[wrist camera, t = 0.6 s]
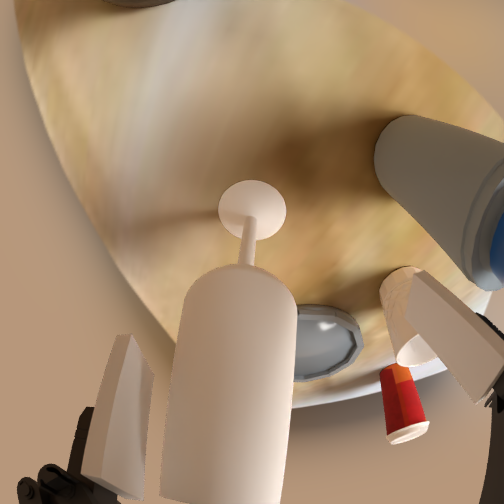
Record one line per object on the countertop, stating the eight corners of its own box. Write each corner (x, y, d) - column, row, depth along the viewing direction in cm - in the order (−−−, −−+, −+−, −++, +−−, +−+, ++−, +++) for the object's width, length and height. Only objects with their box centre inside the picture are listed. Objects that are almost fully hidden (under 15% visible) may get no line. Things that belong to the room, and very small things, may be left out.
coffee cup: (378, 384, 47) (390, 447, 35) (369, 370, 43) (382, 442, 31) (414, 369, 44) (431, 432, 32) (410, 353, 40) (430, 425, 28)
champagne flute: (259, 165, 24) (224, 511, 4) (299, 219, 26) (332, 504, 7) (204, 205, 26) (106, 478, 7) (245, 251, 29) (216, 504, 10)
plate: (245, 299, 33) (243, 309, 32) (378, 307, 33) (381, 316, 32) (239, 369, 44) (238, 378, 42) (338, 373, 44) (340, 381, 42)
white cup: (397, 313, 34) (417, 371, 26) (362, 294, 32) (382, 360, 24) (436, 276, 30) (467, 333, 22) (405, 251, 28) (440, 314, 20)
